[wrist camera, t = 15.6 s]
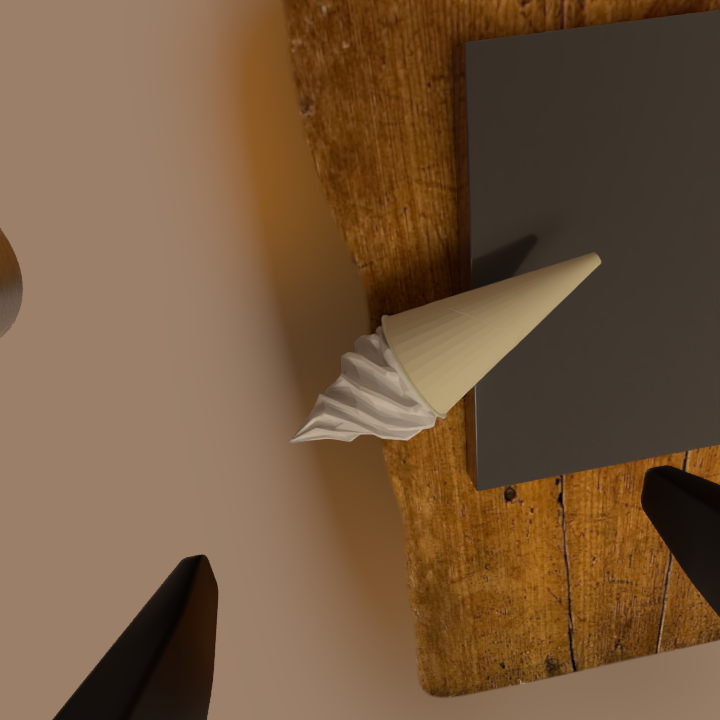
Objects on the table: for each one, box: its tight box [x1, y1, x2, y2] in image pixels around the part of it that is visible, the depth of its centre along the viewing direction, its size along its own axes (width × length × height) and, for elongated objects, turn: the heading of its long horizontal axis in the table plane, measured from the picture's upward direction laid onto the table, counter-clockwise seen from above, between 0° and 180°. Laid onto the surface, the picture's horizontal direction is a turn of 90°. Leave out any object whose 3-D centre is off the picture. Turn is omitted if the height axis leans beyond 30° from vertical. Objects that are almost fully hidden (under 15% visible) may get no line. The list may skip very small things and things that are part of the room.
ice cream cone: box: [290, 252, 601, 443], centre depth 19 cm, size 5×5×15 cm
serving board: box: [452, 10, 720, 491], centre depth 21 cm, size 14×20×2 cm
